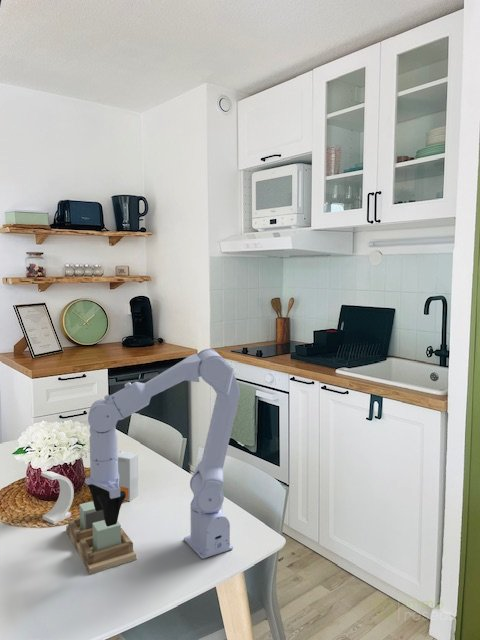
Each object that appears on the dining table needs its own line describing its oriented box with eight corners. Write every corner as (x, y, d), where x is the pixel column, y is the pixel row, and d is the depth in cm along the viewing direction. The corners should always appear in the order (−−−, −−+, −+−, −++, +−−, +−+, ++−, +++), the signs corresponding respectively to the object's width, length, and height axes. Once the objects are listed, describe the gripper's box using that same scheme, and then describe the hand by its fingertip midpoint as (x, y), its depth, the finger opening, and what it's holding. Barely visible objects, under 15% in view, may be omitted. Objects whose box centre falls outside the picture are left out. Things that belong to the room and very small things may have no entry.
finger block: (121, 551, 111) (120, 525, 110) (98, 558, 108) (97, 531, 107) (114, 541, 114) (114, 516, 114) (92, 548, 112) (91, 522, 111)
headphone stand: (42, 518, 127) (40, 472, 126) (63, 509, 132) (62, 464, 131) (53, 524, 124) (52, 477, 123) (74, 514, 129) (73, 468, 128)
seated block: (106, 531, 119) (106, 506, 118) (85, 537, 116) (84, 512, 116) (101, 523, 123) (100, 499, 122) (80, 528, 120) (79, 504, 119)
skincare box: (111, 498, 138) (110, 455, 137) (120, 491, 142) (119, 450, 141) (130, 502, 136) (129, 458, 135) (139, 495, 140) (138, 453, 139)
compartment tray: (136, 559, 110) (136, 545, 109) (89, 574, 105) (89, 559, 104) (107, 519, 127) (107, 507, 126) (66, 530, 121) (65, 517, 121)
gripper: (76, 449, 113) (78, 508, 114) (95, 472, 101) (97, 537, 102) (107, 443, 117) (109, 500, 118) (129, 464, 104) (130, 527, 106)
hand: (105, 517), depth 110 cm, fingers open, 7 cm apart
